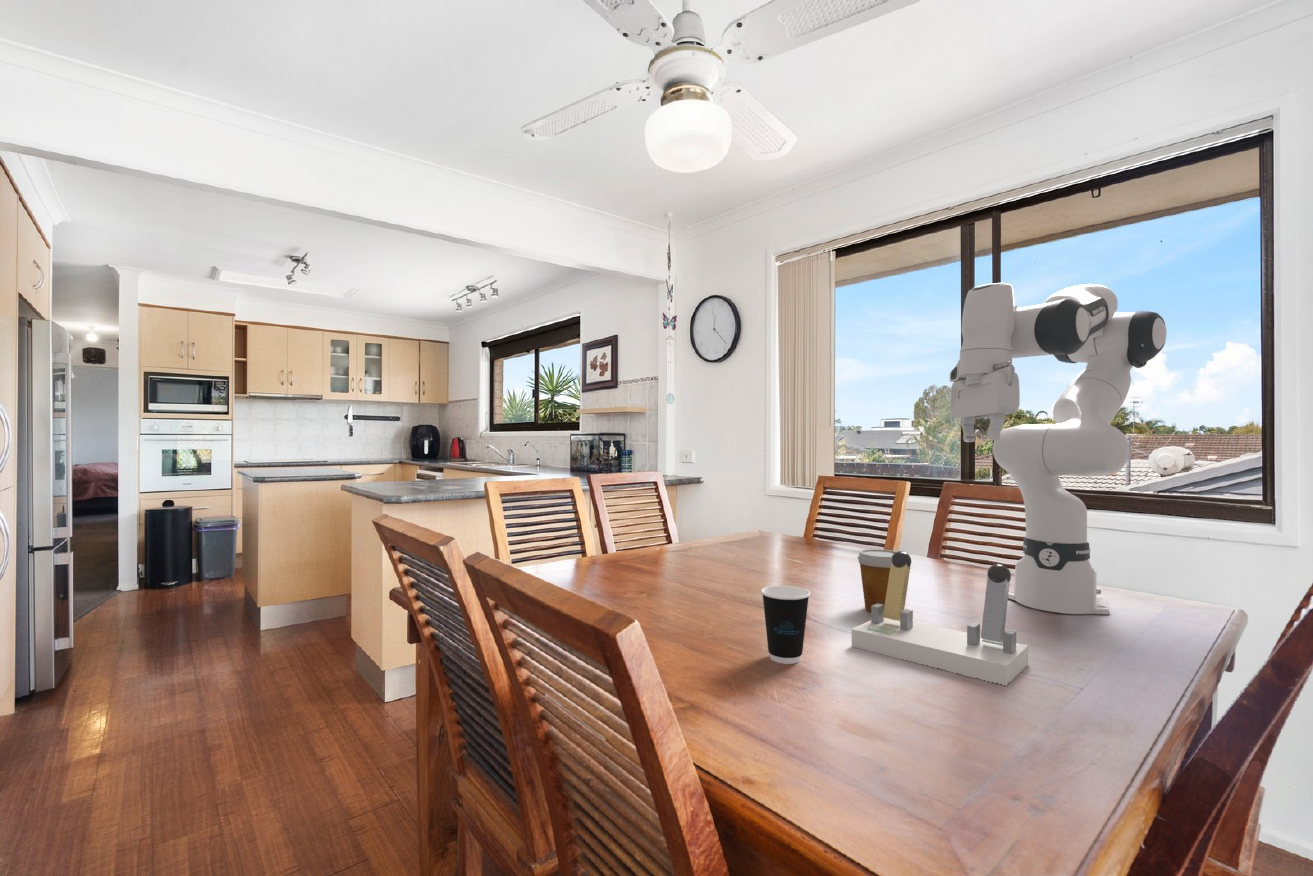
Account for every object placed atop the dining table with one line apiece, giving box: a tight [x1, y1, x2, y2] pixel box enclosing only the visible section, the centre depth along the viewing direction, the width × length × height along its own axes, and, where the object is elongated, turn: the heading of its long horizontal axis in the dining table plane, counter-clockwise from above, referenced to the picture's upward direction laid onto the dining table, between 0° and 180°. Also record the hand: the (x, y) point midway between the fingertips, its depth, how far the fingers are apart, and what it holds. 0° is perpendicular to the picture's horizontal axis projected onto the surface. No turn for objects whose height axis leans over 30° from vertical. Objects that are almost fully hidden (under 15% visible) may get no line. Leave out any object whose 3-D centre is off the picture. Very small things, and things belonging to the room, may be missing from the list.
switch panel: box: [851, 604, 1029, 687], centre depth 103 cm, size 12×24×6 cm, turn 46°
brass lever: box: [883, 550, 912, 621], centre depth 111 cm, size 3×3×12 cm
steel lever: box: [980, 563, 1012, 643], centre depth 99 cm, size 3×3×12 cm
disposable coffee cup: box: [857, 548, 898, 613], centre depth 129 cm, size 10×10×12 cm
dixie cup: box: [760, 585, 811, 665], centre depth 101 cm, size 8×8×11 cm
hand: (980, 441), depth 117 cm, fingers open, 8 cm apart
